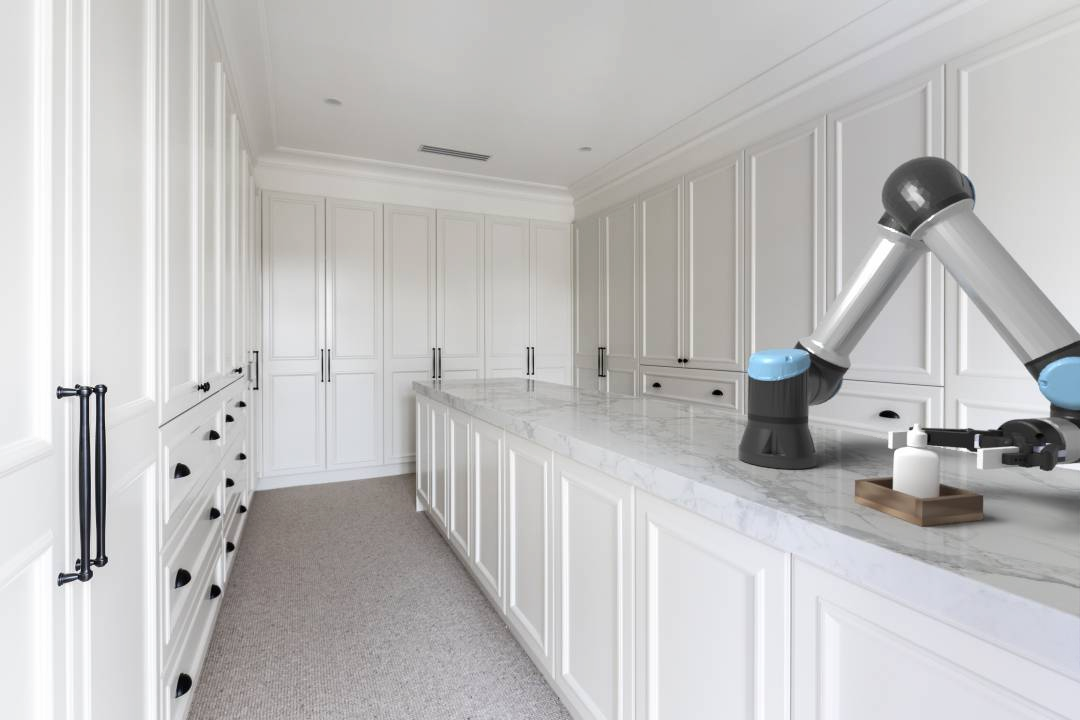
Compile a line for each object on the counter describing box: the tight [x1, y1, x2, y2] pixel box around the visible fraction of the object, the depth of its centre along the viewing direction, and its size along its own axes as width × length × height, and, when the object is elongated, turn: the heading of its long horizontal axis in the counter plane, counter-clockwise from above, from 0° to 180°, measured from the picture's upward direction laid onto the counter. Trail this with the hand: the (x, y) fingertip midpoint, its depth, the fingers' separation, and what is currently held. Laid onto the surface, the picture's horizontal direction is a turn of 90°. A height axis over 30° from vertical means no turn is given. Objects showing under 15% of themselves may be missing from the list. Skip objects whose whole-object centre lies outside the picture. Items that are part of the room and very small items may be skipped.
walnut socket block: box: [854, 476, 984, 527], centre depth 77 cm, size 11×11×4 cm
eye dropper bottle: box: [892, 423, 941, 498], centre depth 77 cm, size 4×6×12 cm
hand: (931, 448), depth 77 cm, fingers open, 13 cm apart
